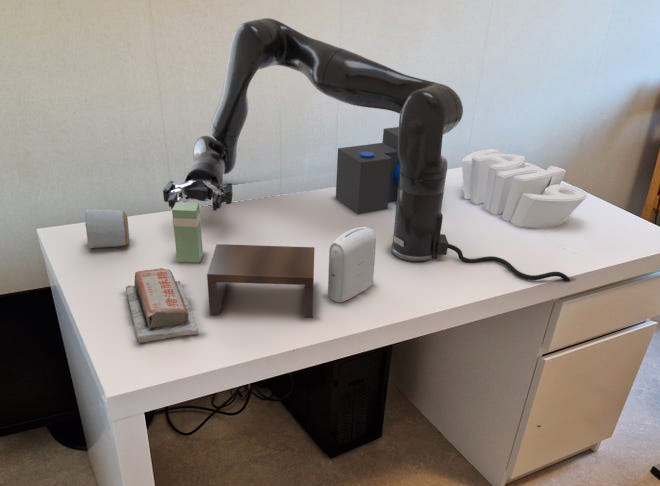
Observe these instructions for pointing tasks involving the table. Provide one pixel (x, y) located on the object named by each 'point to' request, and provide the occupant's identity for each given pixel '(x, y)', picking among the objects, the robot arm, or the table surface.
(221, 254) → the shelf stand
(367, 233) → the photo printer
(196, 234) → the box
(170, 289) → the packaged product
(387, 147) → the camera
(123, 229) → the ceramic mug
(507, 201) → the white letter sculpture
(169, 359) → the table surface
